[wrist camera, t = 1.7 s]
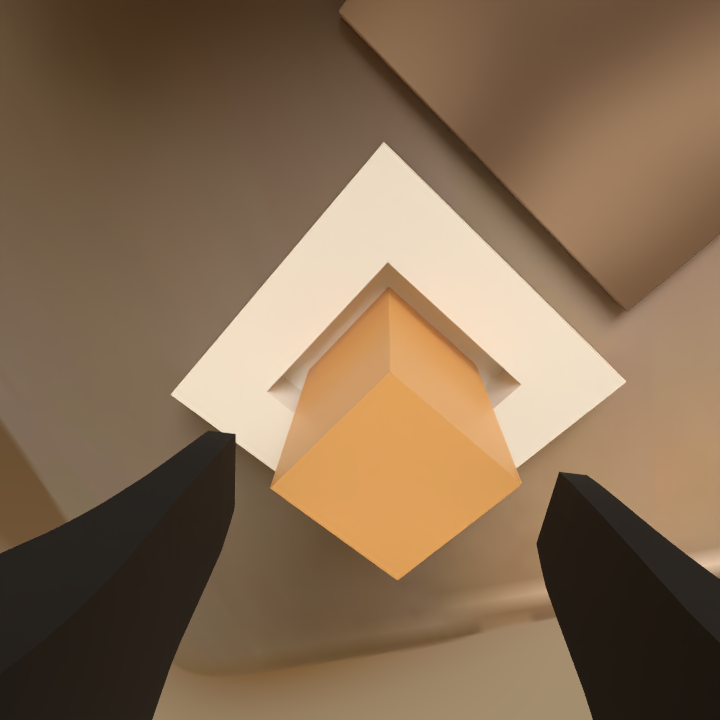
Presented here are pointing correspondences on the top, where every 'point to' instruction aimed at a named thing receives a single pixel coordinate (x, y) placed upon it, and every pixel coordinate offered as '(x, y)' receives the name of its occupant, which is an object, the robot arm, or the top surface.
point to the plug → (394, 440)
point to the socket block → (422, 292)
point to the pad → (577, 115)
